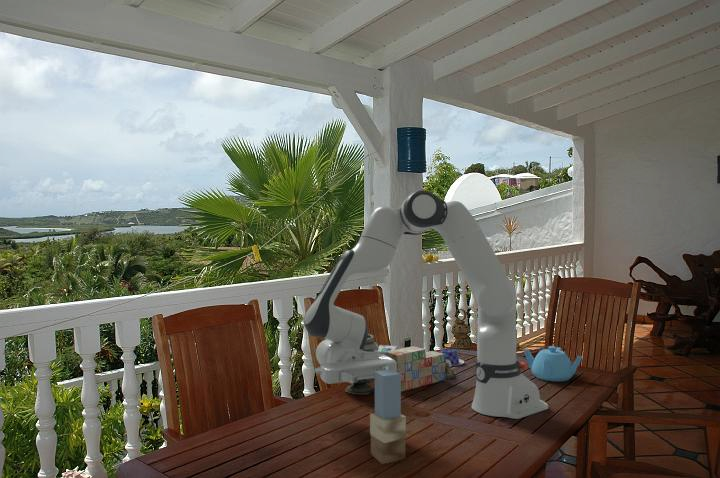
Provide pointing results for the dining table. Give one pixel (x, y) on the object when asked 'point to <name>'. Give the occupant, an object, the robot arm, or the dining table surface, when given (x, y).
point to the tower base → (388, 450)
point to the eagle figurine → (448, 370)
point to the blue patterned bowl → (452, 356)
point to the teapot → (552, 364)
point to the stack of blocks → (418, 366)
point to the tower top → (387, 428)
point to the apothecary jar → (361, 385)
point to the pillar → (387, 394)
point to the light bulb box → (386, 349)
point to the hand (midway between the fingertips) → (371, 377)
